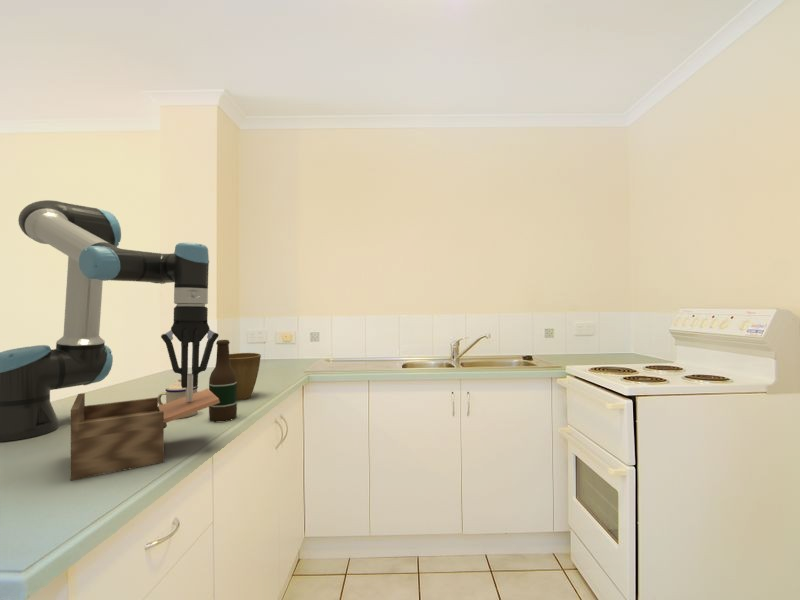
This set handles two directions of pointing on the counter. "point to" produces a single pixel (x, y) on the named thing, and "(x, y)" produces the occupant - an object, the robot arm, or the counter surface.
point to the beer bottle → (223, 385)
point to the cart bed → (115, 436)
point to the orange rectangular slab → (188, 405)
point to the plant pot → (245, 372)
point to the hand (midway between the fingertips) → (189, 400)
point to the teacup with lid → (176, 394)
